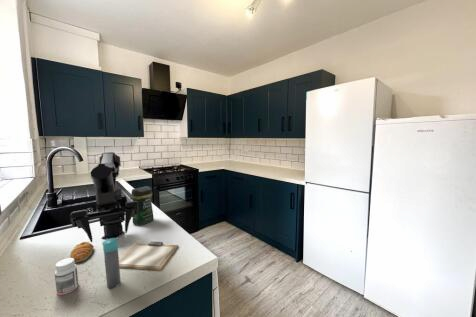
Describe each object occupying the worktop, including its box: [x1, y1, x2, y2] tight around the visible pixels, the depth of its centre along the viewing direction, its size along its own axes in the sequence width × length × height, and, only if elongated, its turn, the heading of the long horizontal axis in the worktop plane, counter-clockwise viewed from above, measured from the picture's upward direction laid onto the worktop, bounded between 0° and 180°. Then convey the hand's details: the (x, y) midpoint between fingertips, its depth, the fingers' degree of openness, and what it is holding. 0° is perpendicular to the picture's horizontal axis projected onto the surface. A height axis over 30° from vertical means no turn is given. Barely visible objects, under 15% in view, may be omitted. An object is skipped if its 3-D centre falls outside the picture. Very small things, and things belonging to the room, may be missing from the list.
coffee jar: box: [130, 185, 155, 226], centre depth 100 cm, size 10×8×19 cm
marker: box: [102, 238, 121, 289], centre depth 57 cm, size 4×4×14 cm
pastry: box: [69, 241, 95, 264], centre depth 71 cm, size 9×7×4 cm
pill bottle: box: [54, 257, 79, 296], centre depth 55 cm, size 5×5×8 cm
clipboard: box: [119, 240, 179, 272], centre depth 71 cm, size 18×14×2 cm
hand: (109, 236), depth 61 cm, fingers open, 9 cm apart
